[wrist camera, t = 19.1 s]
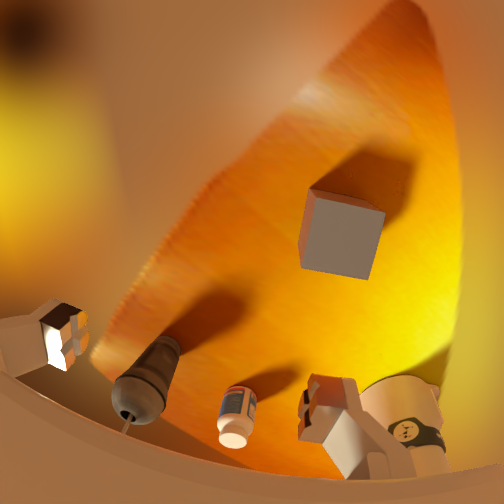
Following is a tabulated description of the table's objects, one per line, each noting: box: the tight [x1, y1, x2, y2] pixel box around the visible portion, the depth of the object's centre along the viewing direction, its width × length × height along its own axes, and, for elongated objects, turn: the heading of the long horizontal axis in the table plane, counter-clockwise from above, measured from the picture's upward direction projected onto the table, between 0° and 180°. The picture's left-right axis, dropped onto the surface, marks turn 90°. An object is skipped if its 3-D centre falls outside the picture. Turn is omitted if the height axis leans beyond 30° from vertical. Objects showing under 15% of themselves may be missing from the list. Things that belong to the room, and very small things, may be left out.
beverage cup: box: [112, 336, 181, 434], centre depth 36 cm, size 7×7×20 cm
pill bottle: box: [217, 386, 257, 448], centre depth 42 cm, size 6×5×10 cm
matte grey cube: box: [298, 188, 386, 280], centre depth 33 cm, size 7×7×9 cm
